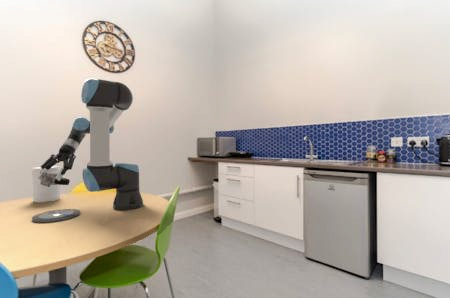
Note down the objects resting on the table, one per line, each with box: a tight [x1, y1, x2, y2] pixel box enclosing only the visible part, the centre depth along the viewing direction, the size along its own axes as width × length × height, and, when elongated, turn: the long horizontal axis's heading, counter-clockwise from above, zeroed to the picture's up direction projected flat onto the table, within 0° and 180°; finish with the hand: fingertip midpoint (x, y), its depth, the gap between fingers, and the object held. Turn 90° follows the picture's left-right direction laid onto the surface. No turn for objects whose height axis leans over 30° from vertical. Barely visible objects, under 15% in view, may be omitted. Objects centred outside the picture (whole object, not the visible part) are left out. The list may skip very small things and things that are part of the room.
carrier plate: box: [31, 208, 81, 224], centre depth 122 cm, size 19×19×1 cm
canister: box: [31, 165, 61, 203], centre depth 159 cm, size 14×14×20 cm
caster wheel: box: [40, 172, 71, 187], centre depth 140 cm, size 7×11×10 cm
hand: (48, 179), depth 136 cm, fingers closed on caster wheel, 10 cm apart
